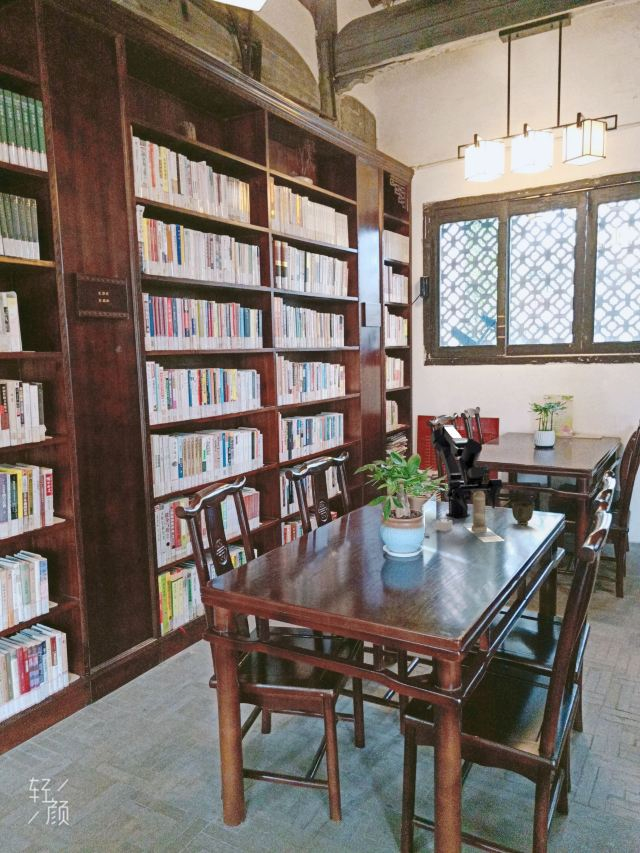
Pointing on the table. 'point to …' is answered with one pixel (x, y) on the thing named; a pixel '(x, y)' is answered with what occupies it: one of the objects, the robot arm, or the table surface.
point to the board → (484, 534)
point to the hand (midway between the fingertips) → (480, 508)
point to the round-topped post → (479, 512)
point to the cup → (522, 512)
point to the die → (444, 525)
